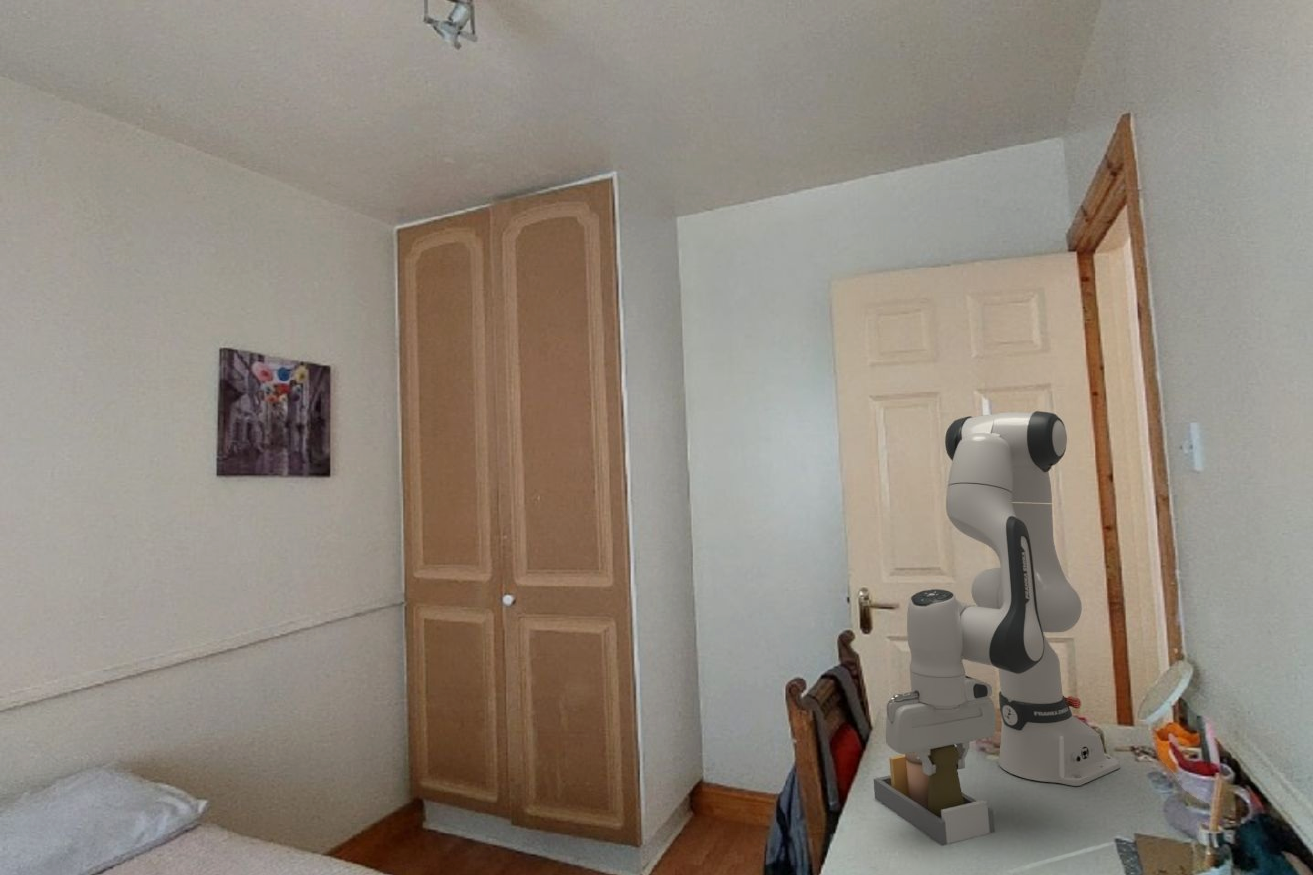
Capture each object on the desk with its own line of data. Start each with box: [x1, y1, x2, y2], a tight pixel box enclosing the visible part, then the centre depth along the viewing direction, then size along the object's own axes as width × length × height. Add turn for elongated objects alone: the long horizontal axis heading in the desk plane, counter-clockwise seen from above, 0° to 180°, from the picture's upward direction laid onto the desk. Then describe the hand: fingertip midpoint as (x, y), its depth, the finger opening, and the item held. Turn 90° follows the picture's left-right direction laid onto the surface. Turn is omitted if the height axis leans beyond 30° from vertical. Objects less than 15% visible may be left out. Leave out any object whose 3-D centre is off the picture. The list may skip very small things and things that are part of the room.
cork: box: [927, 744, 964, 817], centre depth 117 cm, size 6×6×11 cm
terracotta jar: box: [905, 752, 929, 811], centre depth 123 cm, size 5×5×10 cm
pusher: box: [888, 754, 909, 798], centre depth 126 cm, size 8×1×8 cm, turn 107°
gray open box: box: [873, 774, 995, 846], centre depth 121 cm, size 10×18×6 cm, turn 17°
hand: (944, 770), depth 117 cm, fingers closed on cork, 4 cm apart
